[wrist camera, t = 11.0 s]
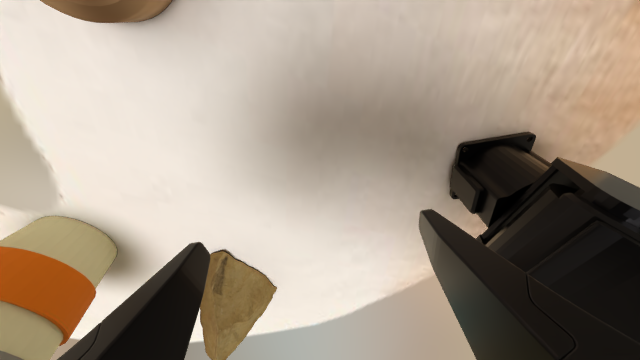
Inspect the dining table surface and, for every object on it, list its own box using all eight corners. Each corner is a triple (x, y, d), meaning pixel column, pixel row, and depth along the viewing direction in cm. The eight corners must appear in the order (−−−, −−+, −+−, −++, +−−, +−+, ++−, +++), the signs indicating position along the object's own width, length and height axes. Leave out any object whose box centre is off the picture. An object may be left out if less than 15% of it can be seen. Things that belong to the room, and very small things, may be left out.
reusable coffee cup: (151, 268, 32) (49, 423, 20) (66, 274, 33) (-84, 429, 20) (90, 199, 25) (-129, 375, 13) (-17, 209, 26) (-325, 386, 13)
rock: (176, 262, 28) (194, 314, 32) (193, 319, 22) (212, 373, 26) (260, 228, 34) (265, 276, 38) (291, 265, 28) (293, 317, 32)
